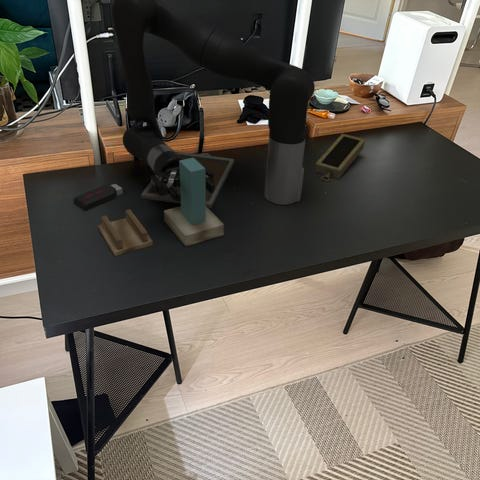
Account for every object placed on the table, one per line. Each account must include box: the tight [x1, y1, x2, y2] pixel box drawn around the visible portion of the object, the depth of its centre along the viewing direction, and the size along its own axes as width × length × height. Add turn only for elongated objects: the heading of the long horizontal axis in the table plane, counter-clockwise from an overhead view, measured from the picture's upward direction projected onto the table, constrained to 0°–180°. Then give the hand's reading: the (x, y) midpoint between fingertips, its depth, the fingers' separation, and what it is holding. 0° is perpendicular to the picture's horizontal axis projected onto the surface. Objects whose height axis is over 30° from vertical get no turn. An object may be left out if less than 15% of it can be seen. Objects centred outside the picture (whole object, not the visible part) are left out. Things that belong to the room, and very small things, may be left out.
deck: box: [163, 205, 225, 247], centre depth 116 cm, size 10×12×3 cm
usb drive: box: [73, 183, 124, 212], centre depth 125 cm, size 5×12×3 cm, turn 137°
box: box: [315, 133, 366, 183], centre depth 145 cm, size 8×22×5 cm, turn 148°
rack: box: [97, 208, 154, 257], centre depth 112 cm, size 9×12×4 cm
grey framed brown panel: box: [140, 151, 235, 209], centre depth 138 cm, size 19×2×30 cm
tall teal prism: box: [179, 158, 206, 226], centre depth 111 cm, size 4×6×14 cm, turn 30°
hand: (196, 193), depth 109 cm, fingers open, 8 cm apart
